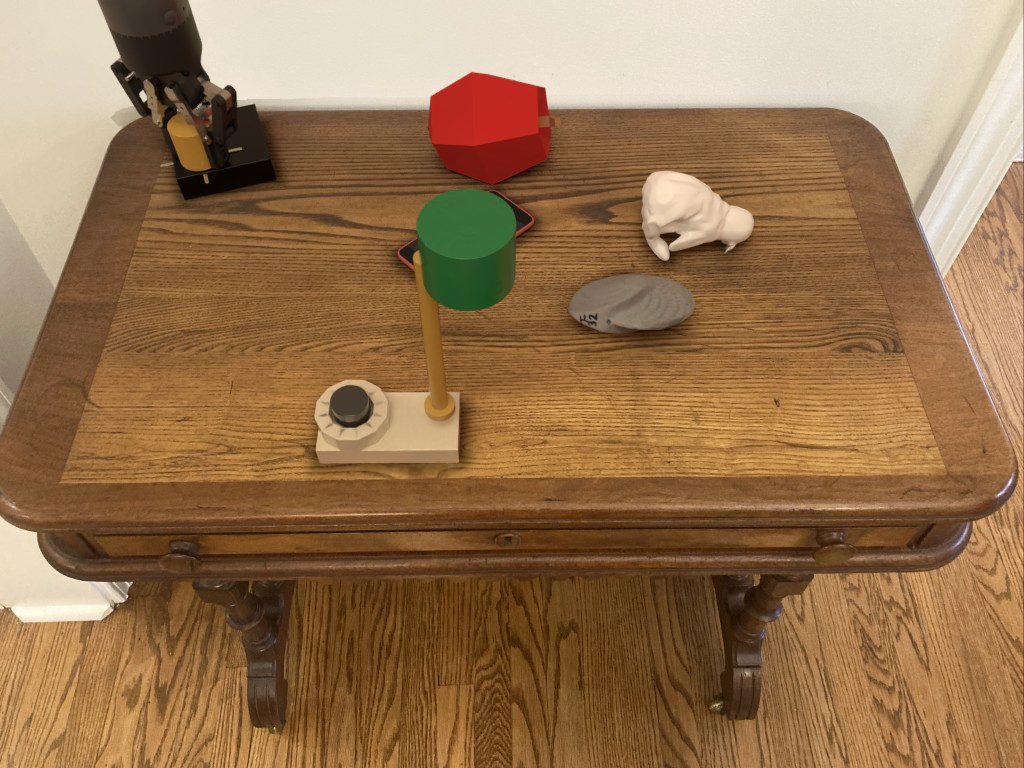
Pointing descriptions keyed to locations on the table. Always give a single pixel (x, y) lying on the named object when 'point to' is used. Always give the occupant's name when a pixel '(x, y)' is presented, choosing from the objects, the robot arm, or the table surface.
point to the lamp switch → (350, 406)
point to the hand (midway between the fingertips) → (200, 157)
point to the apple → (490, 126)
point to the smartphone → (522, 216)
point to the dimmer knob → (188, 143)
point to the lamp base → (388, 430)
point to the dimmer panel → (231, 161)
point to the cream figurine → (689, 214)
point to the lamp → (460, 271)
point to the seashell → (631, 303)
